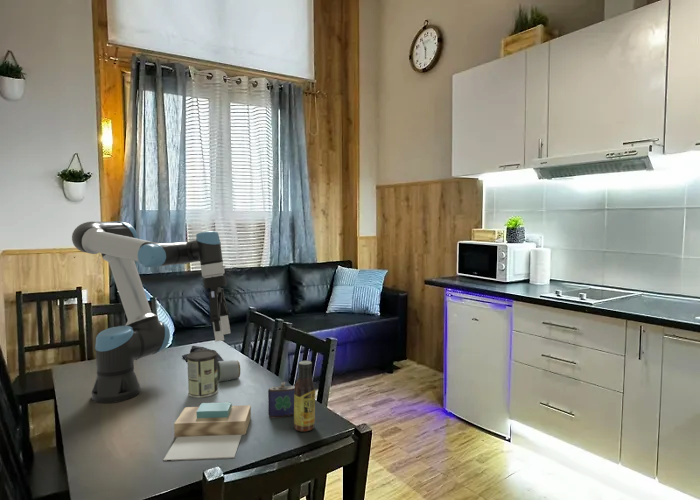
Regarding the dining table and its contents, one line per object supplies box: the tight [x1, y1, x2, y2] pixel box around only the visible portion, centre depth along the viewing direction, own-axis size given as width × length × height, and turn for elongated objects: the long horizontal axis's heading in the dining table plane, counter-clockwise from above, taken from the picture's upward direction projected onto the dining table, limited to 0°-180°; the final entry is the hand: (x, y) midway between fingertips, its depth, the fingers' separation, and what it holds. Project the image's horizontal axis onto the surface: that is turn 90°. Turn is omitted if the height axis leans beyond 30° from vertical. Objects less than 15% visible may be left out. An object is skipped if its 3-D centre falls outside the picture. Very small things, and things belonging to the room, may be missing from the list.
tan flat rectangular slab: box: [173, 404, 252, 438], centre depth 133 cm, size 20×11×4 cm, turn 95°
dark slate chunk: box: [181, 345, 225, 362], centre depth 196 cm, size 15×22×5 cm
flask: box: [267, 381, 295, 419], centre depth 140 cm, size 9×3×11 cm, turn 103°
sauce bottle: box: [293, 360, 316, 433], centre depth 132 cm, size 7×6×20 cm
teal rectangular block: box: [197, 401, 233, 418], centre depth 133 cm, size 9×6×2 cm, turn 95°
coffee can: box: [187, 349, 219, 399], centre depth 159 cm, size 10×10×14 cm
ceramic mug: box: [217, 359, 241, 383], centre depth 173 cm, size 11×8×8 cm
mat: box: [162, 435, 243, 462], centre depth 121 cm, size 18×12×1 cm, turn 95°
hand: (223, 337), depth 152 cm, fingers open, 13 cm apart
